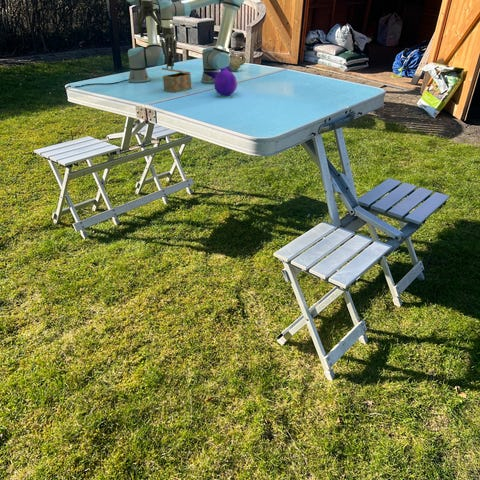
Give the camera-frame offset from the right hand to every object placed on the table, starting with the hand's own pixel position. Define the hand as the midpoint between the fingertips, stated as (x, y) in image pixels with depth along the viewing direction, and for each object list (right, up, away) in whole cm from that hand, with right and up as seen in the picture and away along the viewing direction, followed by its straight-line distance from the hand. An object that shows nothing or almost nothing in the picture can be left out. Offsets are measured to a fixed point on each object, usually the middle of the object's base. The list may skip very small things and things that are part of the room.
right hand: (171, 65), depth 300 cm
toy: (+34, -20, -3) cm, 40 cm away
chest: (+3, -12, +11) cm, 17 cm away
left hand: (-13, +19, -3) cm, 23 cm away
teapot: (+41, +22, +68) cm, 82 cm away
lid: (+3, -2, +5) cm, 6 cm away
